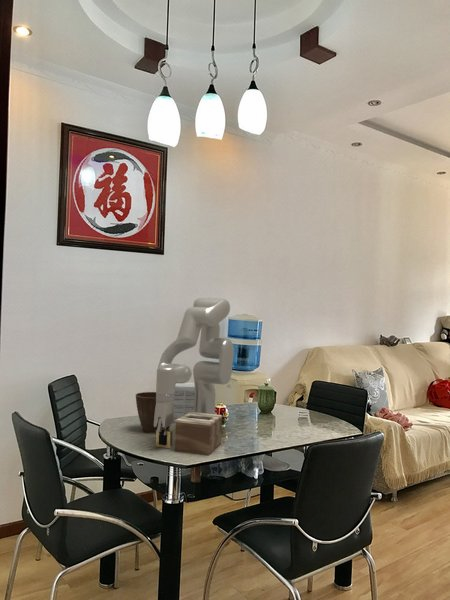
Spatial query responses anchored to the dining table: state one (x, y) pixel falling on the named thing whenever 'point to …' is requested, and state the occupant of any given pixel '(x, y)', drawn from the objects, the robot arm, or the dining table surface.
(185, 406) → the supplement box
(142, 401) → the plant pot
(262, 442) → the dining table surface
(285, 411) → the dining table surface
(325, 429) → the dining table surface
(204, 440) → the box with rectangular opening
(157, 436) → the tan flat block
